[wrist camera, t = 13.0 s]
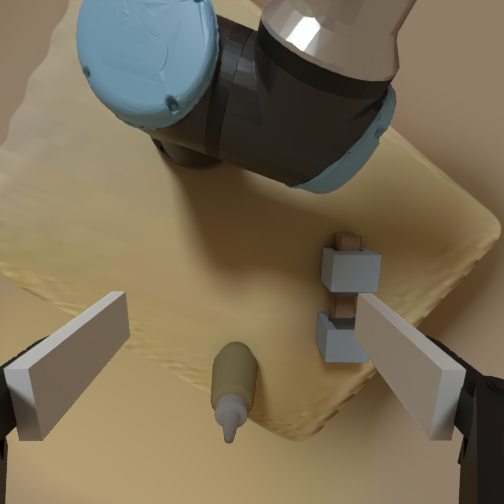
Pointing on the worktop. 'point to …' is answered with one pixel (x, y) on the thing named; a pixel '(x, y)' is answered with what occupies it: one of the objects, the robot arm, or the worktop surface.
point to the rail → (338, 304)
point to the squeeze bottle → (233, 387)
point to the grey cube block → (351, 271)
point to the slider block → (339, 340)
